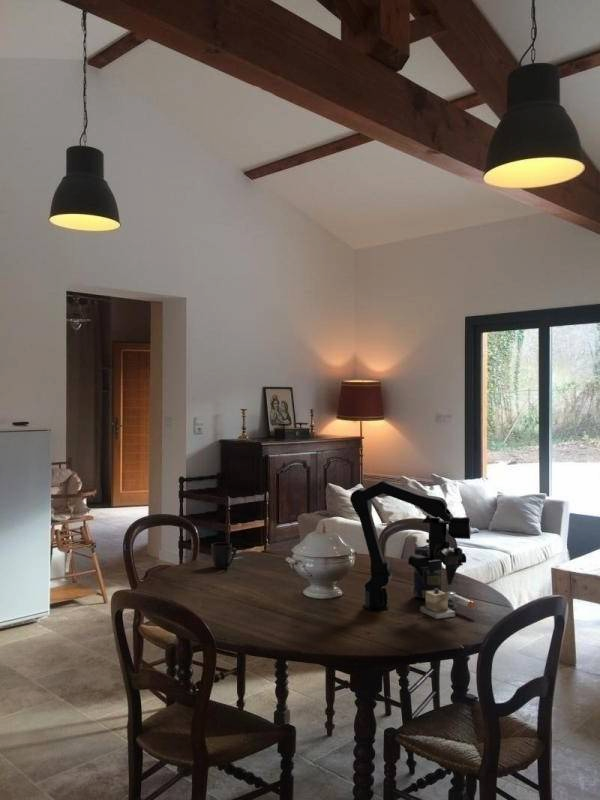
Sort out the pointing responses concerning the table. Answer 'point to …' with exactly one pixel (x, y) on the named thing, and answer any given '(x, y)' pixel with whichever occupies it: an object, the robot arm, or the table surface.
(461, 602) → the lever
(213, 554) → the mug
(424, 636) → the table surface
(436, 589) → the block
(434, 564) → the canister
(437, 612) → the plate
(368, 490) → the robot arm
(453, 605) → the grey metal flanged disc
